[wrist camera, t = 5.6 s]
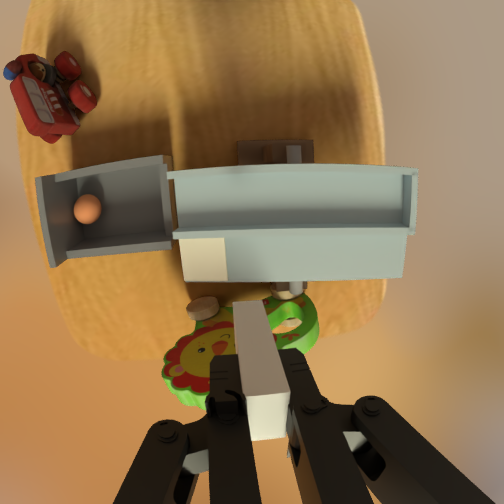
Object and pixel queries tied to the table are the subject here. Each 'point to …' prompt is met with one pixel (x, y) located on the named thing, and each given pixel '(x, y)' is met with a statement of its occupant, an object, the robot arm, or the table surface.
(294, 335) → the toy lion
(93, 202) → the ball
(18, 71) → the toy fire truck
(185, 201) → the lever
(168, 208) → the pulled-out tray drawer
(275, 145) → the stand
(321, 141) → the table surface
